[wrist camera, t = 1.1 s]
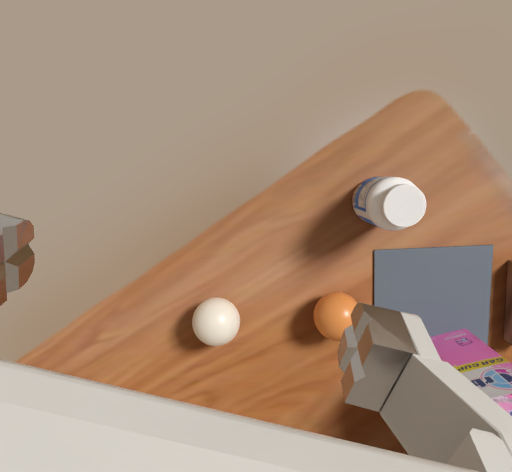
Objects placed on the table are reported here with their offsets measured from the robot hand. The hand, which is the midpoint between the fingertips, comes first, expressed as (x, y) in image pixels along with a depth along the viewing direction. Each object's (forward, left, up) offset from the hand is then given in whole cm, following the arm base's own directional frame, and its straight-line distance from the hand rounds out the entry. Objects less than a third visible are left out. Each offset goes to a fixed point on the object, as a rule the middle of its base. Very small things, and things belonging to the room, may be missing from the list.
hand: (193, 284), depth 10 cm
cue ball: (-14, +4, -34) cm, 37 cm away
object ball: (-14, -10, -34) cm, 38 cm away
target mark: (-14, -22, -36) cm, 45 cm away
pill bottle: (-1, -15, -37) cm, 40 cm away
